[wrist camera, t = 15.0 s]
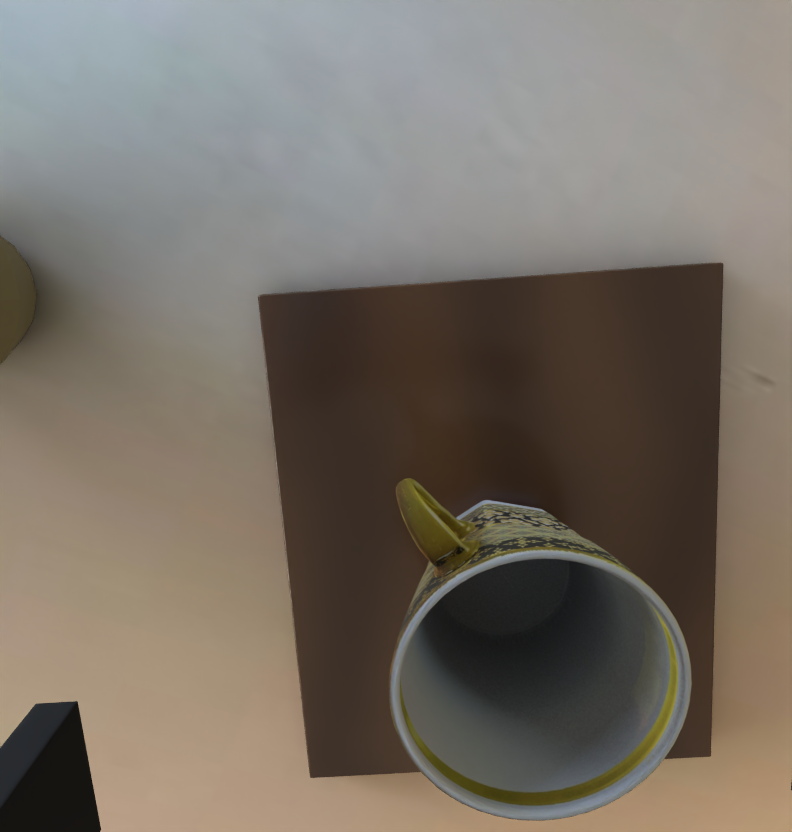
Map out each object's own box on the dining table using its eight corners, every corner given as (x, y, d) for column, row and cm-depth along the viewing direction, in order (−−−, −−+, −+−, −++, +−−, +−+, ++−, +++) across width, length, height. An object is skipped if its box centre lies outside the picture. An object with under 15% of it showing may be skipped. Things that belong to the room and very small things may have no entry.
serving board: (312, 762, 37) (309, 778, 36) (262, 294, 32) (257, 295, 31) (701, 741, 36) (711, 757, 35) (711, 262, 31) (723, 262, 30)
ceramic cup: (647, 591, 33) (749, 726, 24) (470, 700, 35) (497, 871, 25) (494, 366, 31) (536, 412, 21) (312, 491, 32) (273, 588, 23)
